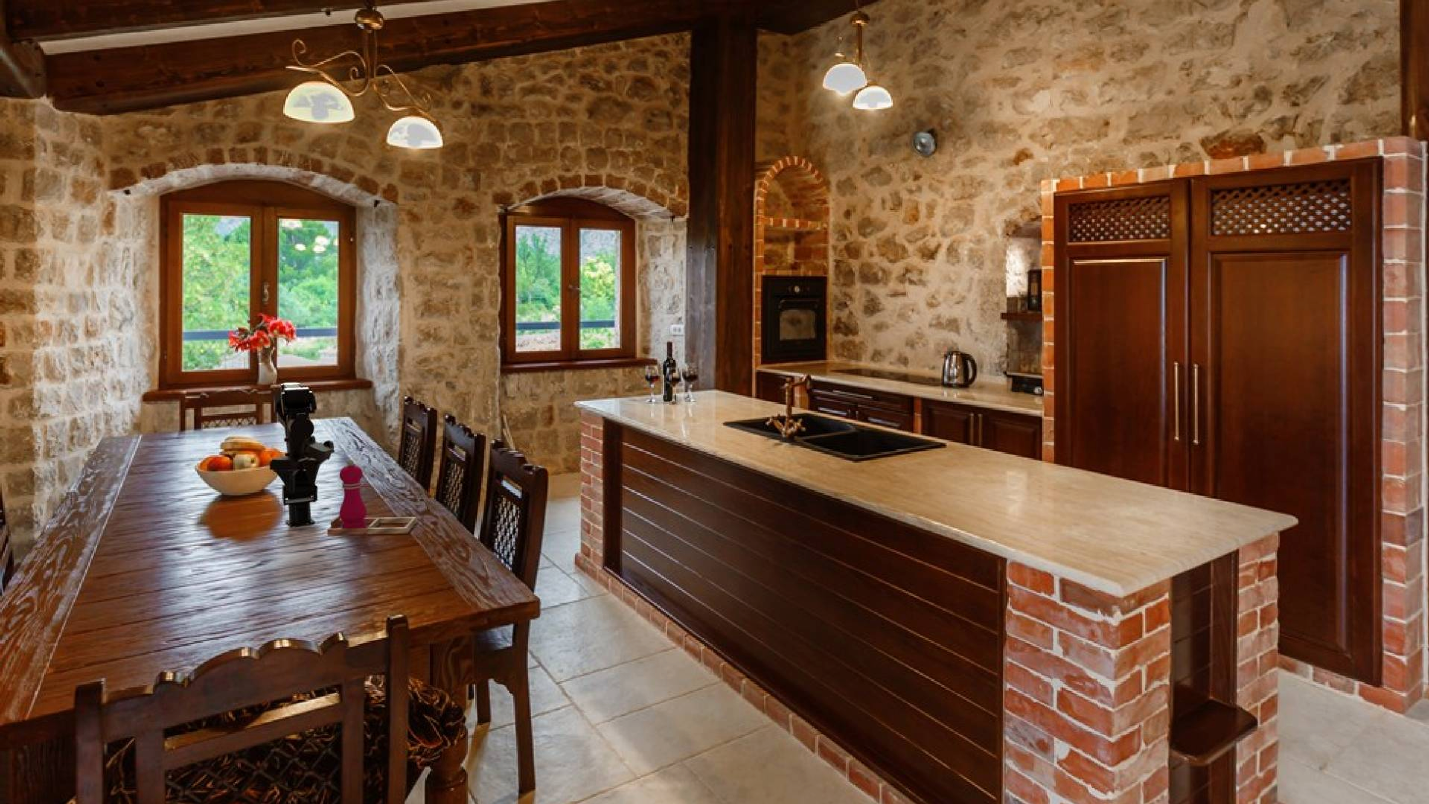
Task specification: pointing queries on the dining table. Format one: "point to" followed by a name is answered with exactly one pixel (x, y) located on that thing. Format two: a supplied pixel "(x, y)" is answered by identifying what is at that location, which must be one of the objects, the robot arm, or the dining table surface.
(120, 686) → the dining table surface
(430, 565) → the dining table surface
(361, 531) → the rack
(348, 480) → the pepper mill
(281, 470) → the robot arm
